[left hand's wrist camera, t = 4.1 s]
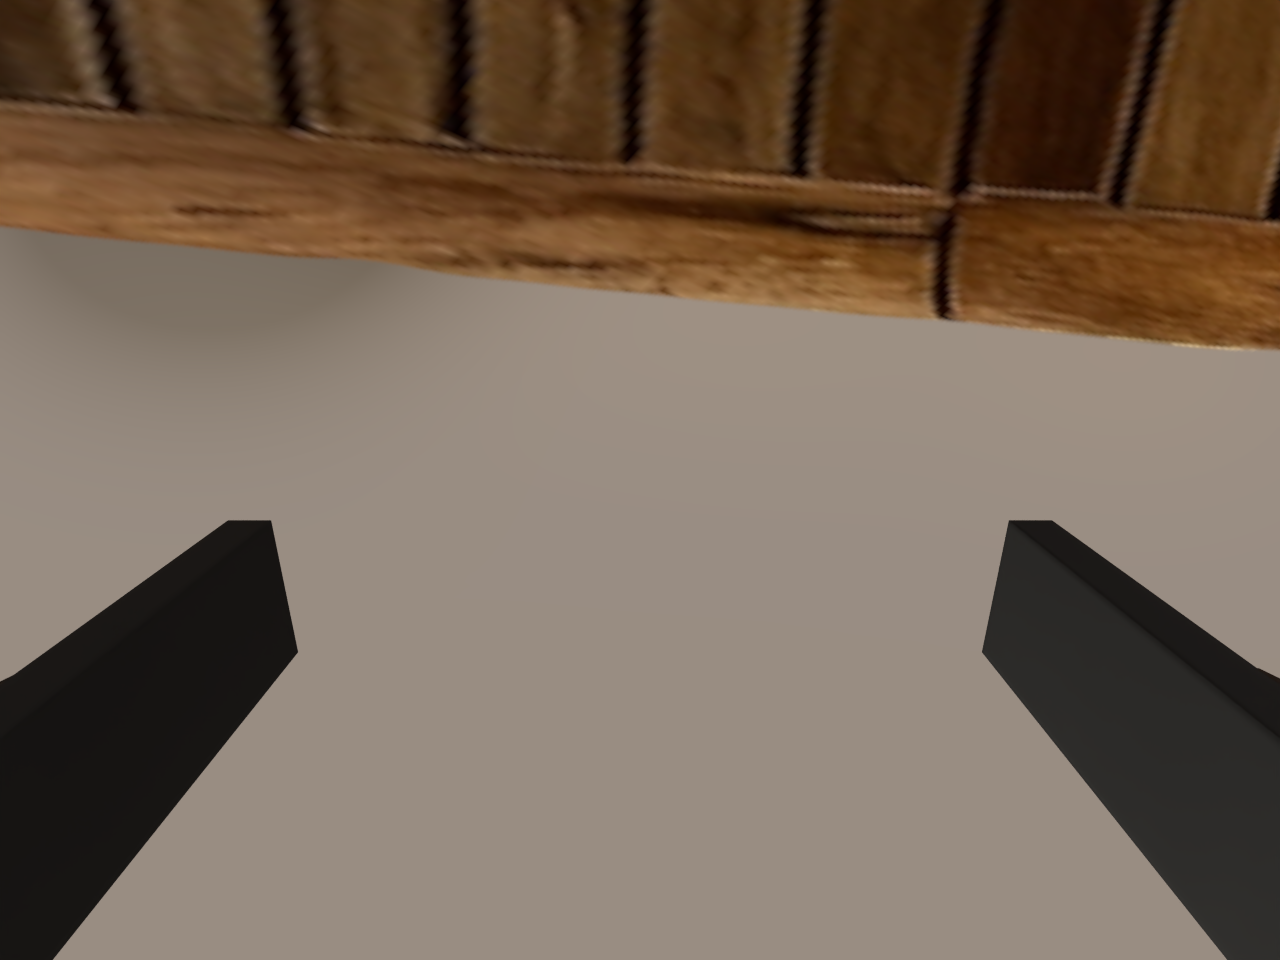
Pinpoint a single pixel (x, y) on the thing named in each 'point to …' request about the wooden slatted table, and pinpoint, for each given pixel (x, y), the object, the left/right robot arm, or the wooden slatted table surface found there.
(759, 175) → the wooden slatted table surface
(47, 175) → the wooden slatted table surface
